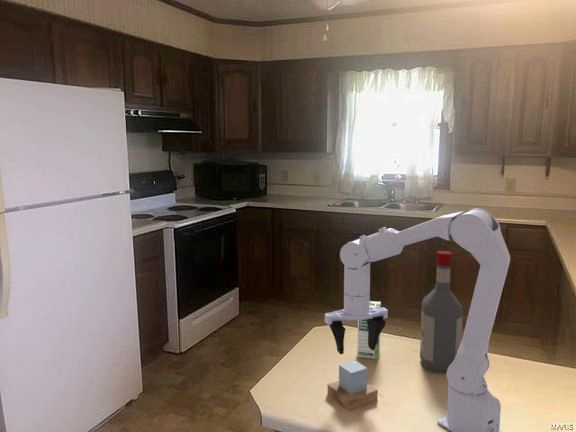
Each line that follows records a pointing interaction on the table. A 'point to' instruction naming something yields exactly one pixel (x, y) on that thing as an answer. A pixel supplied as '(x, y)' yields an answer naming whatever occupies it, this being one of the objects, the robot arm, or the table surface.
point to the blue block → (353, 377)
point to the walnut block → (352, 396)
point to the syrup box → (363, 337)
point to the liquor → (440, 321)
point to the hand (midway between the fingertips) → (356, 350)
